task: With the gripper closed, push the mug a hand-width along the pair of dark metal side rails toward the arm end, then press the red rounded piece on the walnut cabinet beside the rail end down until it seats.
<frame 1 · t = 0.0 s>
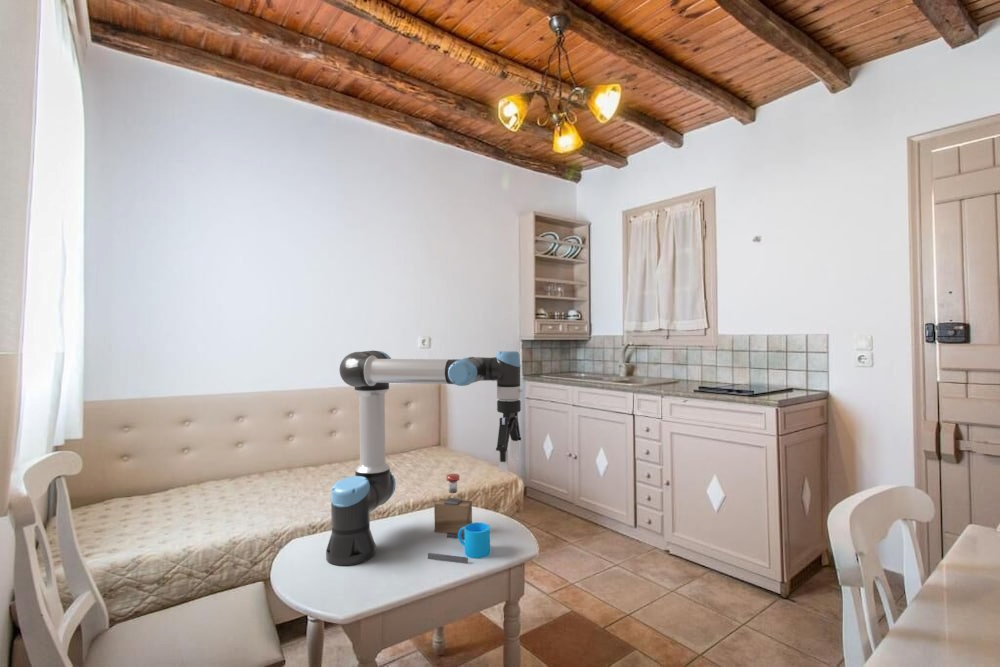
hand: (509, 466, 155), 28 cm above the table, fingers open, 13 cm apart
mug: (472, 552, 157), on the table
red rounded piece: (453, 483, 173), point 17 cm above the table, slide at 3.0 cm
end cabinet: (453, 530, 173), on the table
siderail: (456, 549, 158), on the table
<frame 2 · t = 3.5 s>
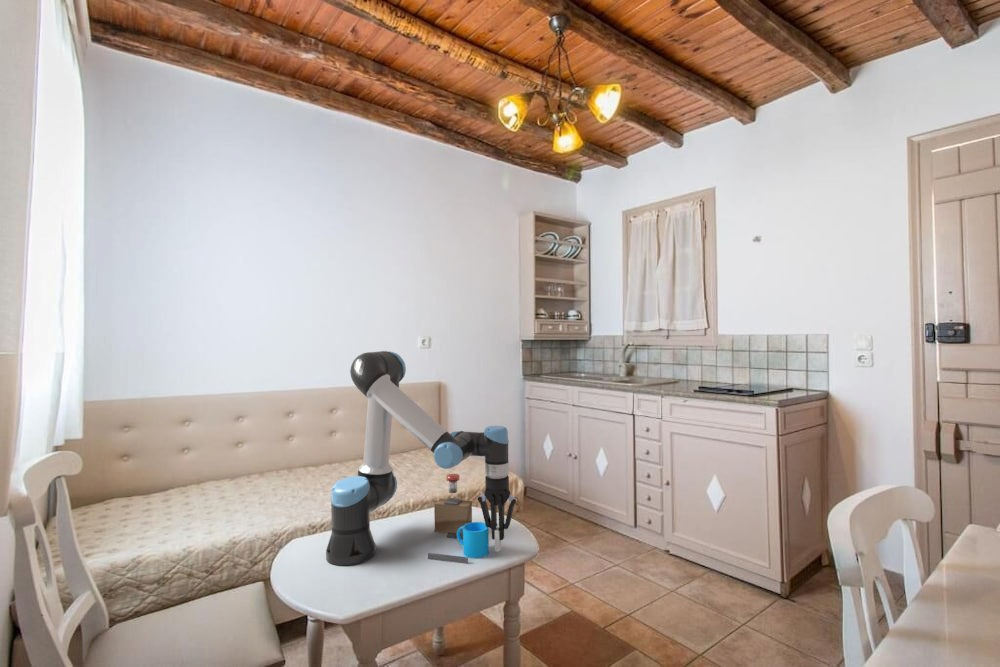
hand: (498, 549, 154), 1 cm above the table, fingers closed
mug: (471, 551, 157), on the table, touching gripper
everything else where it was.
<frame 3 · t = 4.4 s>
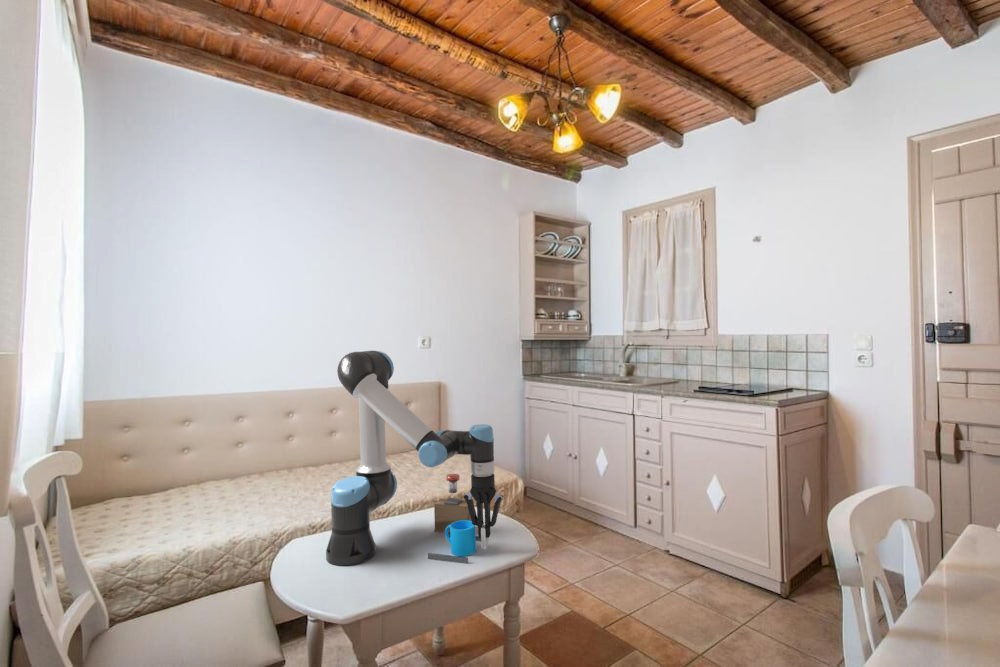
hand: (484, 547, 156), 2 cm above the table, fingers closed
mug: (459, 549, 158), on the table, touching gripper
everything else where it was.
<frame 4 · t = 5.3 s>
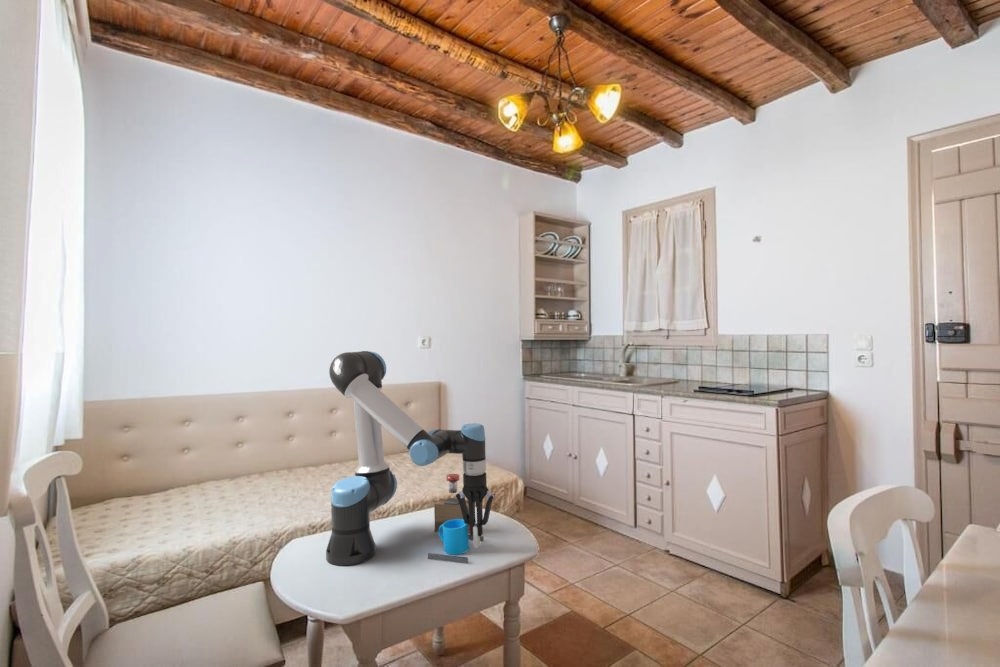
hand: (476, 545, 156), 2 cm above the table, fingers closed
mug: (452, 548, 159), on the table, touching gripper
everything else where it was.
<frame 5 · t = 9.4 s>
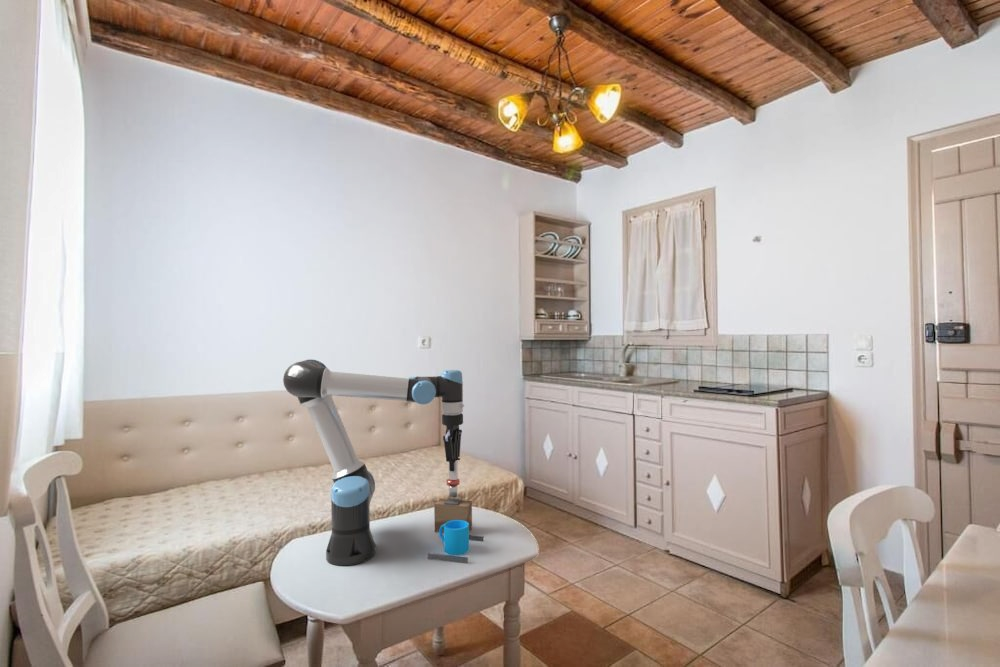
hand: (453, 479, 173), 18 cm above the table, fingers closed
mug: (452, 548, 159), on the table
red rounded piece: (453, 488, 173), point 15 cm above the table, slide at 1.5 cm, touching gripper
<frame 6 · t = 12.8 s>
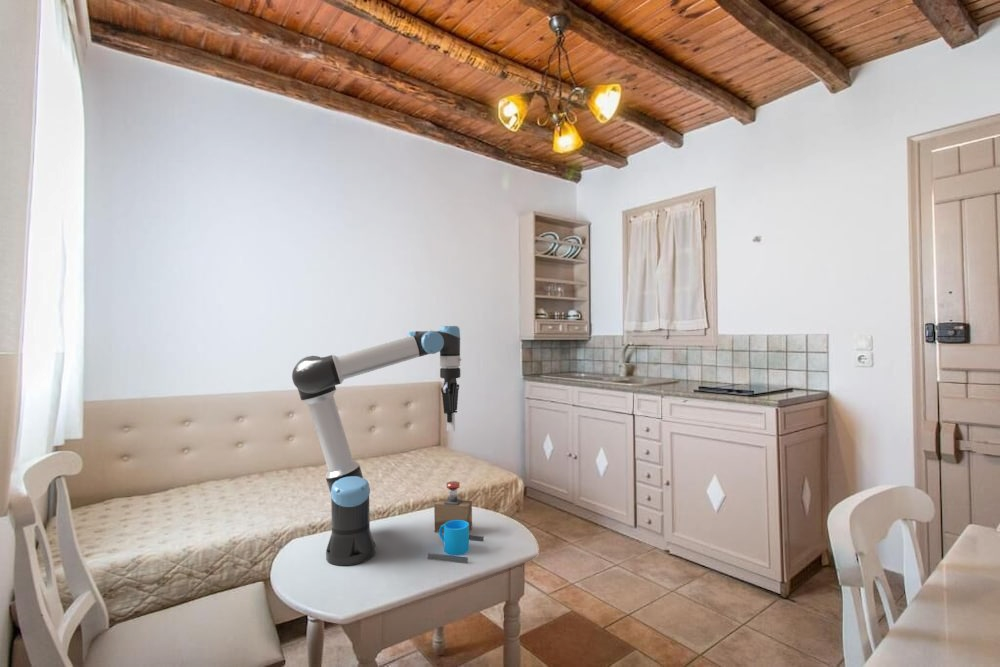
hand: (450, 430, 180), 34 cm above the table, fingers closed
red rounded piece: (453, 491, 173), point 14 cm above the table, slide at 0.3 cm
everything else where it was.
at the end: mug inside the target area (1.1 cm from its centre), on the table; mug tilted 0°; red rounded piece slide at 0.3 cm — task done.
